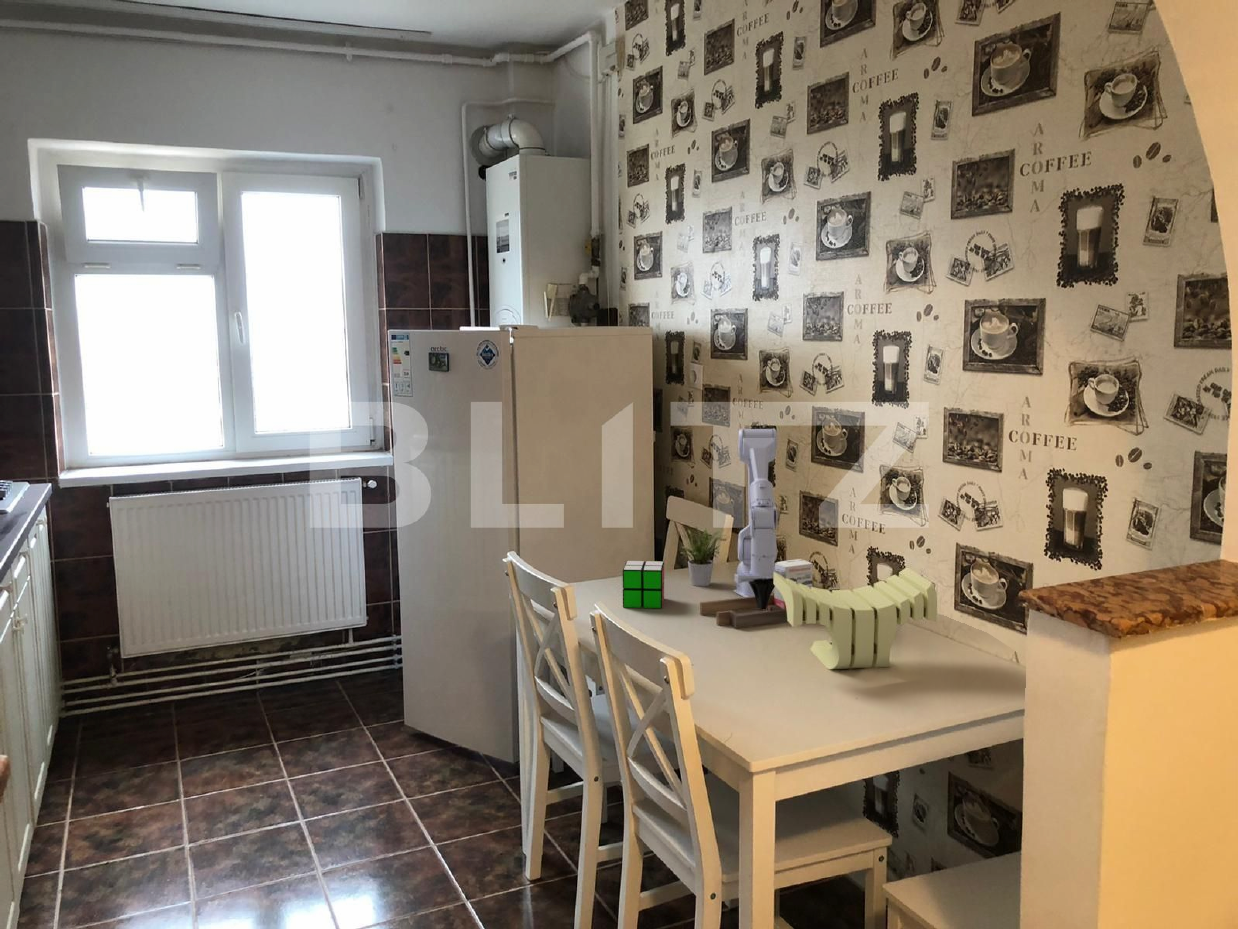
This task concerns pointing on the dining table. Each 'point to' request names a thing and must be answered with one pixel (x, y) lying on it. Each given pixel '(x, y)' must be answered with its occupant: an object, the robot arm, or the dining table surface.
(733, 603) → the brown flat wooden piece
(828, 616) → the slatted curved stool
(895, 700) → the dining table surface
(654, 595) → the puzzle cube
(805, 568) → the ink box
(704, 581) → the house plant
